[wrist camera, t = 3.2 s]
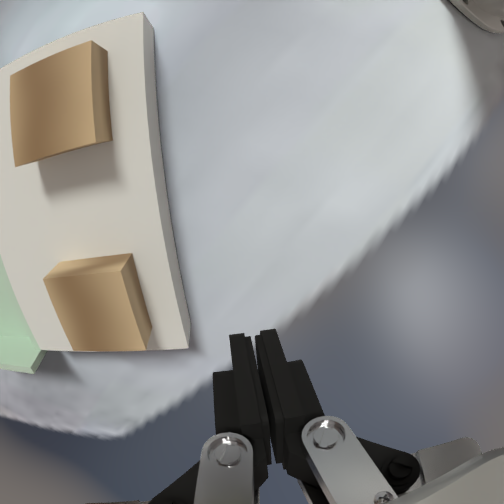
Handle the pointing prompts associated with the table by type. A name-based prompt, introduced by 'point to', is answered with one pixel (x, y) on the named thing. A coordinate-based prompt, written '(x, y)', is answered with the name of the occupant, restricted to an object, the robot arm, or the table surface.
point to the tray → (15, 332)
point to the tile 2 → (100, 303)
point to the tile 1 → (60, 104)
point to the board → (95, 194)
